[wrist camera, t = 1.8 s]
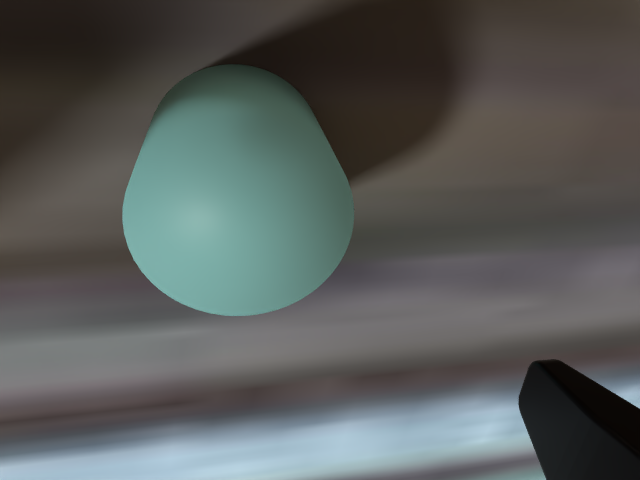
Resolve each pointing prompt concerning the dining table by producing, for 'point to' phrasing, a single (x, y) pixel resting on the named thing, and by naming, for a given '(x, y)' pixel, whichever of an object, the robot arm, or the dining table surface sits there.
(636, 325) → the dining table surface
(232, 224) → the seafoam tapered dome
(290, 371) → the dining table surface
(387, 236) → the dining table surface
